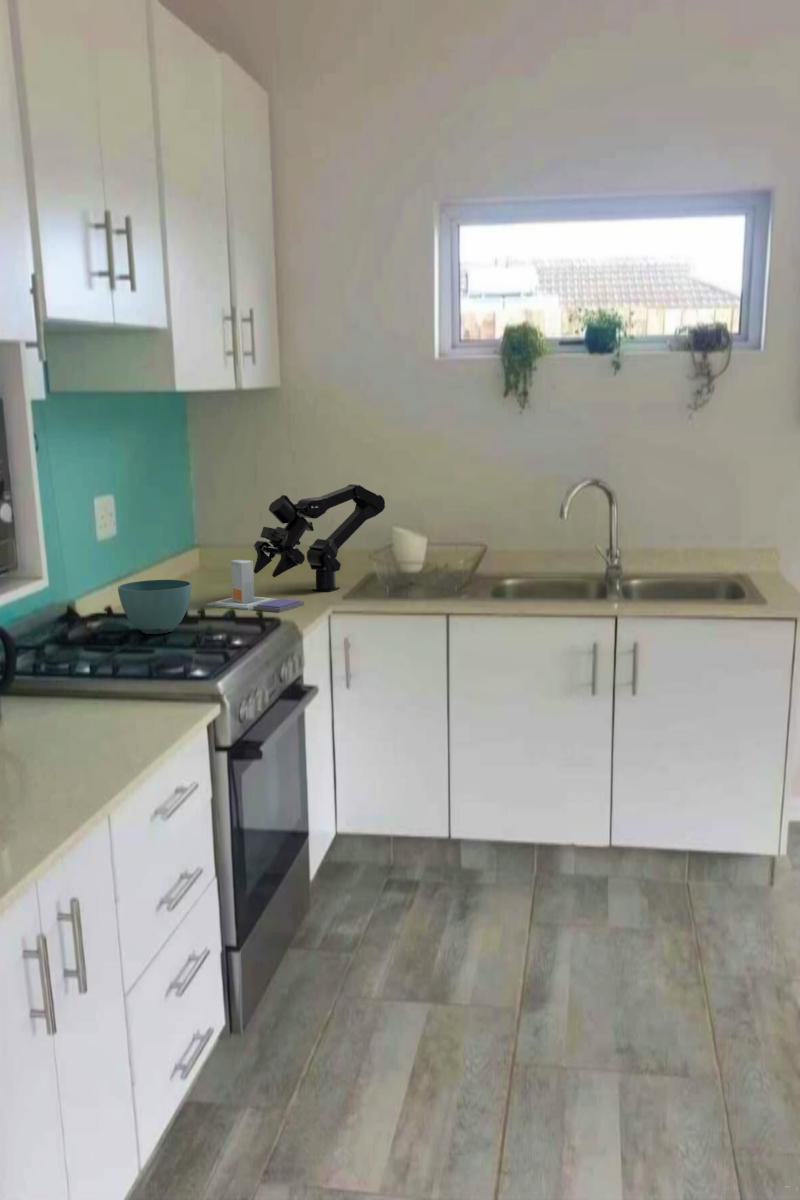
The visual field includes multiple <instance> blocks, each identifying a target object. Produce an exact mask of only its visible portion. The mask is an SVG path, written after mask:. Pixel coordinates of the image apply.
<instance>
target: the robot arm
mask: <svg viewBox="0 0 800 1200" xmlns="http://www.w3.org/2000/svg"><path fill="white" fill-rule="evenodd" d="M351 500H352V501H353V503H355V507H354V509H353V511H352V513H350V515H348V516H347V518H346V519H345V520H344V521H343V522H342V523H341V524H340V525H338V527H337V528H336V529H335V530H334V531H333V532H332V533H331V534H330V535H329V536H328V537H327V538H325V539H322V538H321V539H320V538H317V539H316V540H315V541H314V542H313V543H312V544H311V545H309V546H308V550H307V551H306V556H305V554H304V553H303V552H302V551H301V550H300V549H299V548H298V547H297V546H300V545H301V541H300V540H301V538H303V537H302V536H303V535H304V534H305V532H306V531H309V532H313V531H314V526H313V522H312V521H309V520H308V519H315V520H316V519H318V518H320V517H322V516H323V515H324V514H326V512H327V511H328V510H330V509H331V508H334V507H337V506H339V505H341V504H344V503H346V502H348V501H351ZM385 501H386V500H385V498H384V497H383V496H382V495H381V494H376V492H372V491H370V490H369V489H366V488H365V487H363V486H361V485H360V484H351V483H350V484H348V485H347V486H343V487H342V488H340V489H337V490H335V491H332V492H329V493H327V494H324V495H321V496H314V497H307V498H301V499H300V500H298V502H297V503H293V502H292V501H291V500H290V498H289V497H288V496H287V495H286V494H281V495H280V497H279V498H277V499H275V500H274V501H273V502H271V503H270V504H269V507H268V511H269V512H270V513H271V515H273V516H274V518H276V519H277V521H278V522H279V523H281V524H286V525H285V527H281V526H276V528H274V527H269V526H263V527H262V531H261V532H260V536H259V537H260V538H263V539H266V540H269V542H268V541H265V540H257V541H255V543H254V545H253V547H254V551H256V554H257V557H256V561H255V565H254V567H253V574H258V573H259V572H261V570H263V569H264V568H265V567H267V565H269V564H270V563H271V562H272V561H273V559H274V558H275V557H276V555H277V556H278V555H279V556H280V560H279V561H278V563H277V564H276V566H275V568H274V570H273V571H272V574H271V576H272V578H276V577H278V576H280V575H281V574H283V573H285V572H287V571H289V570H290V569H292V568H294V567H298V566H299V565H303V563H304V562H305V559H306V561H307V563H308V564H309V566H310V569H311V570H314V571H315V587H313V588H312V591H316V590H318V592H332V590H333V591H336V590H338V588H341V587H340V586H337V585H336V583H337V582H336V572H339V571H340V570H341V566H342V564H341V562H340V561H339V560H338V559H337V557H338V553H339V549H340V548H341V547H342V546H343V545H344V544H345V543H346V542H347V541H348V540H349V538H351V537H352V535H353V534H354V533H356V531H357V530H358V529H359V528H361V526H362V525H363V524H364V523H365V522H366V521H367V520H370V519H372V518H375V517H377V516H378V515H379V514H381V513H382V512H384V510H385V508H386V503H385ZM335 589H336V590H335Z"/></svg>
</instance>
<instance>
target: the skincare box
mask: <svg viewBox="0 0 800 1200" xmlns="http://www.w3.org/2000/svg"><path fill="white" fill-rule="evenodd" d="M230 571H231V572H230V573H231V576H230V577H231V593H232V596H231V597H233V601H237V602H241V603H248V602H254V601H255V597H256V596H255V583H254V579H255V578H254V562H253V560H248V559H233V560H232V559H231V560H230Z"/></svg>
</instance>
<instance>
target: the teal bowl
mask: <svg viewBox="0 0 800 1200" xmlns="http://www.w3.org/2000/svg"><path fill="white" fill-rule="evenodd" d="M191 593H192V582H191V581H187V580H183V579H181V580H180V579H147V580H138V581H131V582H127V583H123V584H120V585H118V586H117V594H118V596H119V602H120V604H121V607H122V609H123V612H124V613H125V615H126V617H127V619H128V621H130V623H131V624H132V625H133V627H134V628H135V627H137V628H141V629H158V628H159V629H166V628H171V627H174V626H177V625H178V624H179V623H181V622H182V620H183V619H184V616H186V613H187V610H188V608H189V605H190V599H191V596H192V595H191ZM179 625H180V624H179ZM179 625H178V626H179ZM178 626H177V627H178Z"/></svg>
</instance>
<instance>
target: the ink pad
mask: <svg viewBox="0 0 800 1200" xmlns="http://www.w3.org/2000/svg"><path fill="white" fill-rule="evenodd" d="M276 599H277V600H273V601H269V602H266V603H262V604H259V605H257V606H254V608H253V610H254V611H261V610H262V612H263V611H264V612H273V613H281V612H284V611H289V610H292V609H295V608H298V607H302V606H305V602H304V601H302V600H295V599H284V598H276Z"/></svg>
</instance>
